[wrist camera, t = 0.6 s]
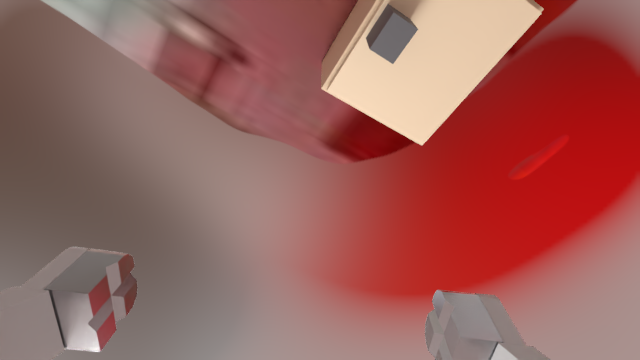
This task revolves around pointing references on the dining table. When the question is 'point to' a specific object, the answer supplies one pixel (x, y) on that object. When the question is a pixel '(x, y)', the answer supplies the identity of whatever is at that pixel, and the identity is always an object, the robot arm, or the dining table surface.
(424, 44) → the carton lid
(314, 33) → the dining table surface
